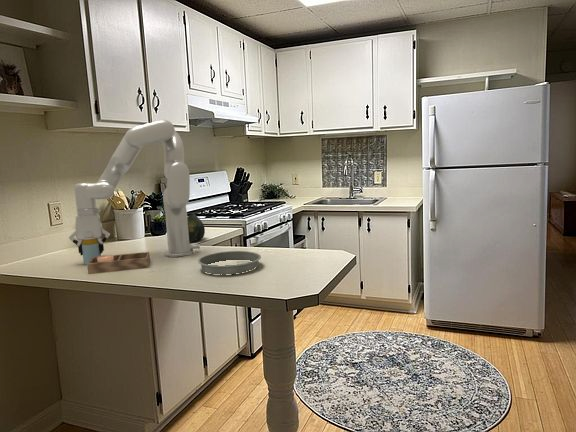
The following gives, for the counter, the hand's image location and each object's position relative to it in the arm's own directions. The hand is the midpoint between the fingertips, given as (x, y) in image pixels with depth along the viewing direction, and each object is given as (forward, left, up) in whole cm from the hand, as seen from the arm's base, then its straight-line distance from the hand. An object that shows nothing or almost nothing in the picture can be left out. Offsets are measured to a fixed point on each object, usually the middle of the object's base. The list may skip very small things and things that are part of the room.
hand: (91, 253), depth 188 cm
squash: (-43, -35, -6) cm, 55 cm away
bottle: (0, 0, -6) cm, 6 cm away
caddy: (-13, +12, -5) cm, 18 cm away
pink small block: (-7, +12, -4) cm, 15 cm away
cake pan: (-55, +29, -6) cm, 62 cm away
